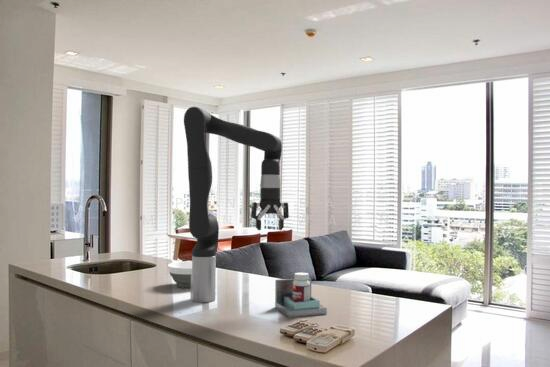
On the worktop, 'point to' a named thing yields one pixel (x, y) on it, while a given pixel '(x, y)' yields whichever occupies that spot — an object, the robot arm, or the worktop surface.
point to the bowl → (181, 273)
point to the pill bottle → (301, 287)
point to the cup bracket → (291, 307)
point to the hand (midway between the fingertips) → (269, 229)
